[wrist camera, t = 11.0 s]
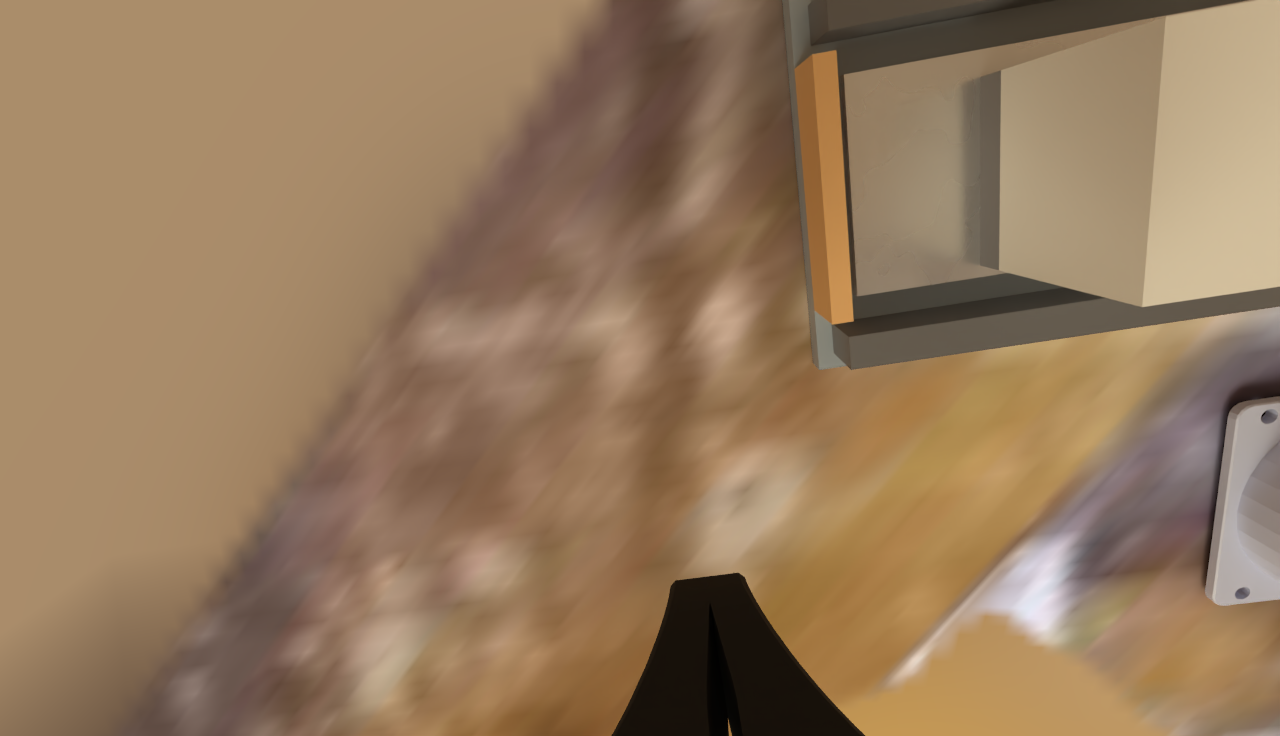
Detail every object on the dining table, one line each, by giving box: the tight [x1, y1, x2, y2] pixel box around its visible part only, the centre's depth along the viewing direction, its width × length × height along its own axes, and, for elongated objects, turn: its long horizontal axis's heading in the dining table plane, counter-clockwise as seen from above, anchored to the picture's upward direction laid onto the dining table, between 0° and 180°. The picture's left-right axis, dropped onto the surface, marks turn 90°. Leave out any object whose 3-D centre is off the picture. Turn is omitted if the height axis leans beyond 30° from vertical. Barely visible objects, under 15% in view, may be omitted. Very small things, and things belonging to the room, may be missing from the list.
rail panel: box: [782, 0, 1280, 370], centre depth 17 cm, size 13×11×3 cm
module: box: [980, 0, 1280, 307], centre depth 13 cm, size 4×5×6 cm
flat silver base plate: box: [838, 0, 1255, 296], centre depth 17 cm, size 11×6×1 cm, turn 99°
